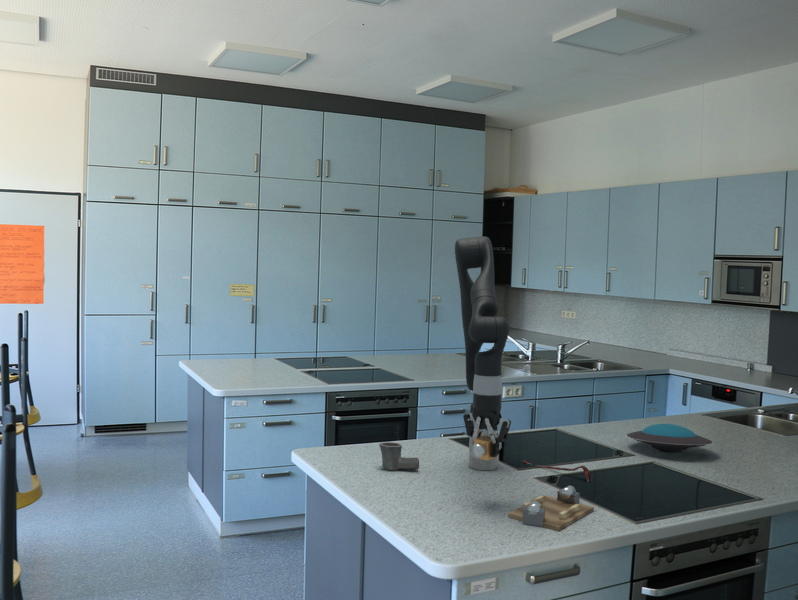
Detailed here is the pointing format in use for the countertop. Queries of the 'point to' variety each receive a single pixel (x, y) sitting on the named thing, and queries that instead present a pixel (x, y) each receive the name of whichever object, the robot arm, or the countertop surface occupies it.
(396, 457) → the pipe
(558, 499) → the shaft
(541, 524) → the shaft
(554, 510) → the wooden tray with rails
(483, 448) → the coupling
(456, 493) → the countertop surface
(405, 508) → the countertop surface
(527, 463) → the crowbar
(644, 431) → the decorative object
